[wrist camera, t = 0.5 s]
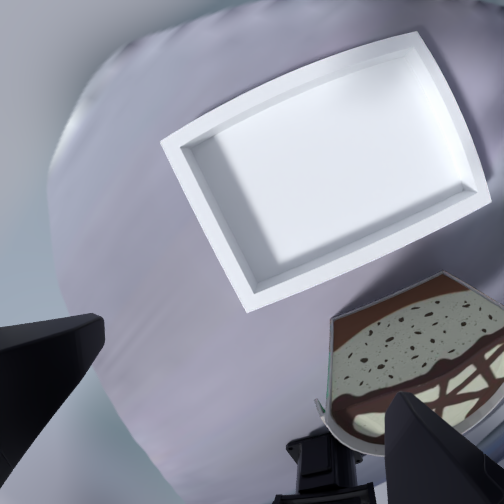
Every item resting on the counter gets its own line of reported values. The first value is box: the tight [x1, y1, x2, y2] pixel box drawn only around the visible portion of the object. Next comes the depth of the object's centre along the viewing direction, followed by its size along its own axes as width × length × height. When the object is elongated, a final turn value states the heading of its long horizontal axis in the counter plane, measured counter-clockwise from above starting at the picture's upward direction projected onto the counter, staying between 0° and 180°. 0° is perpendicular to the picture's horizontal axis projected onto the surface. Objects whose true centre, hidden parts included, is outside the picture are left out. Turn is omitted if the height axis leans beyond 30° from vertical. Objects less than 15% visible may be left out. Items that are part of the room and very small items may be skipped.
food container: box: [314, 270, 504, 457], centre depth 15 cm, size 12×6×10 cm, turn 115°
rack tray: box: [160, 31, 492, 313], centre depth 17 cm, size 12×18×2 cm, turn 117°
